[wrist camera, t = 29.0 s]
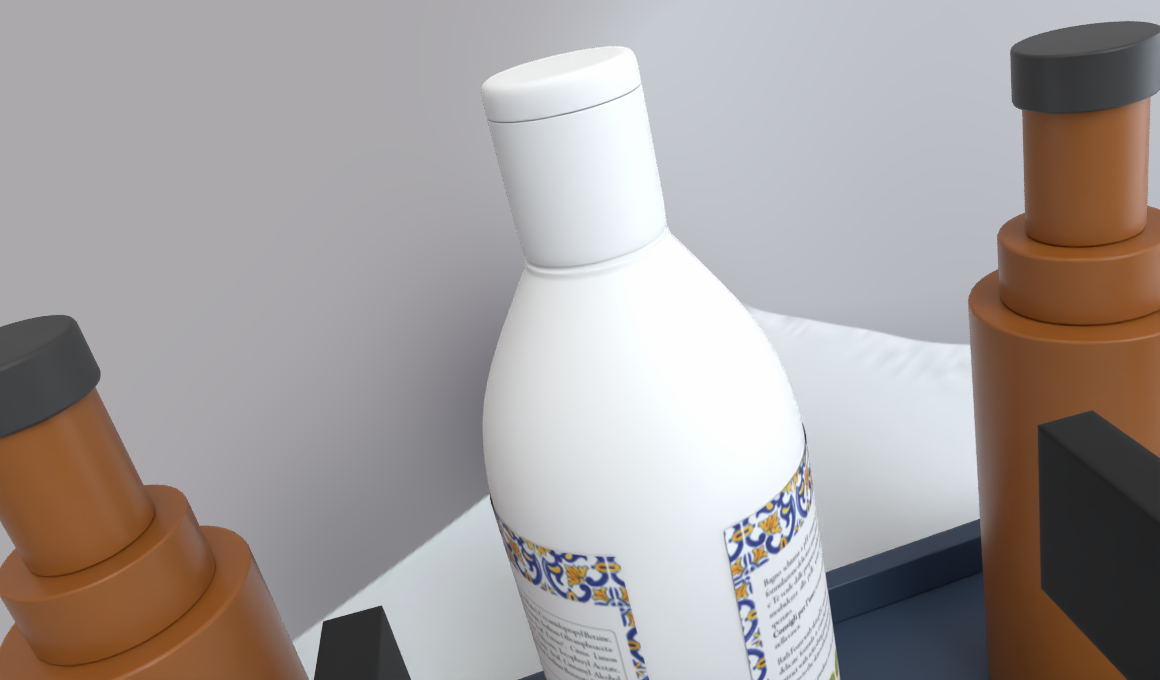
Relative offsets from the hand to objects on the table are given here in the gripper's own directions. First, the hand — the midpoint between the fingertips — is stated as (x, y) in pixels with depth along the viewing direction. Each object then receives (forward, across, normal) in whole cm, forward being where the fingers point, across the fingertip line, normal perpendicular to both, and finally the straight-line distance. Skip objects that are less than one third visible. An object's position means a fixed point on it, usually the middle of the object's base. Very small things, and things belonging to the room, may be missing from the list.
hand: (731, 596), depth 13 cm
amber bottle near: (+7, -11, -14) cm, 19 cm away
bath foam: (+8, 0, -14) cm, 16 cm away
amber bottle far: (+9, +11, -14) cm, 20 cm away
